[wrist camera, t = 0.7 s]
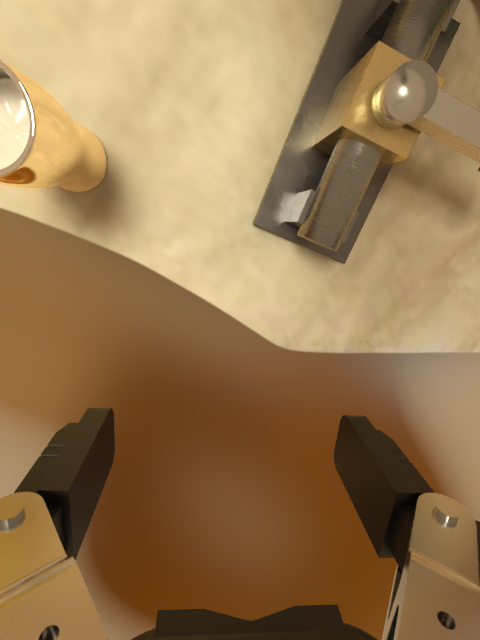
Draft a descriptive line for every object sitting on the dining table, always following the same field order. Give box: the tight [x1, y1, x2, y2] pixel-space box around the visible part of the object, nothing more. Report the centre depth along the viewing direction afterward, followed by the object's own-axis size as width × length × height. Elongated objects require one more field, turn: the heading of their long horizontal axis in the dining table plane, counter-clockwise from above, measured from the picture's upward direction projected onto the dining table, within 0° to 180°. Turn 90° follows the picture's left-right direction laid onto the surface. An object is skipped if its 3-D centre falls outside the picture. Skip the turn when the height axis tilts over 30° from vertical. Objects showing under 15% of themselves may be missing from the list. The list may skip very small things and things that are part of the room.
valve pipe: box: [253, 0, 460, 263], centre depth 30 cm, size 24×11×9 cm, turn 158°
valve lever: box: [372, 60, 480, 172], centre depth 26 cm, size 15×4×3 cm, turn 68°
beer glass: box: [0, 60, 107, 192], centre depth 26 cm, size 7×7×15 cm
